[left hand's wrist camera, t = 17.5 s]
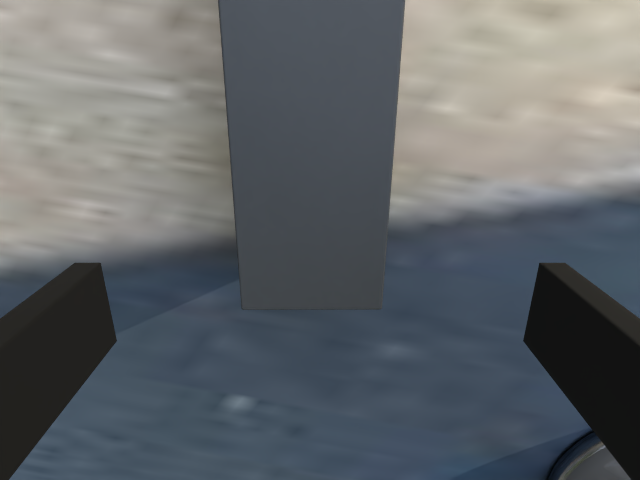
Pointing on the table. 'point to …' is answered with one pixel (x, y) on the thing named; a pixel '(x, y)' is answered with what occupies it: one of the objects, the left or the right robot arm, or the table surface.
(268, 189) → the box
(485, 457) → the table surface
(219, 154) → the table surface
